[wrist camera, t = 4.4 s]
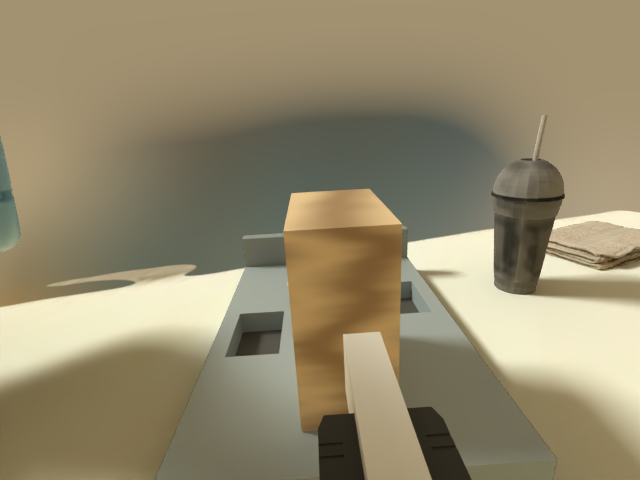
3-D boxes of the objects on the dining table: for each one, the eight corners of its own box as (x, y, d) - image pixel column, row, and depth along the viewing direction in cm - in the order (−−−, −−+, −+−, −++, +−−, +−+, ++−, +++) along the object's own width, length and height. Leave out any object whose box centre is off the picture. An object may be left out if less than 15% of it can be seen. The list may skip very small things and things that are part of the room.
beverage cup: (469, 281, 46) (484, 118, 39) (509, 269, 48) (529, 115, 42) (520, 305, 39) (547, 116, 33) (562, 290, 42) (595, 112, 36)
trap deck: (160, 521, 20) (134, 430, 18) (249, 279, 50) (243, 235, 48) (550, 492, 20) (569, 400, 18) (403, 269, 50) (404, 225, 48)
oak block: (301, 431, 22) (283, 231, 18) (303, 338, 31) (291, 193, 27) (397, 424, 22) (402, 224, 18) (370, 333, 31) (369, 188, 27)
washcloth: (521, 250, 56) (523, 232, 55) (589, 231, 63) (592, 214, 62) (605, 277, 46) (610, 255, 45) (675, 250, 53) (680, 231, 52)
